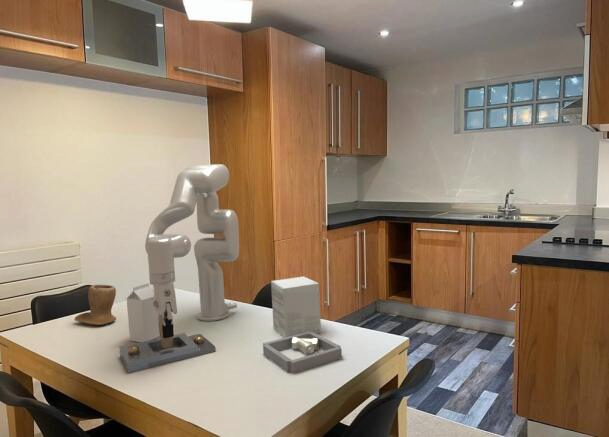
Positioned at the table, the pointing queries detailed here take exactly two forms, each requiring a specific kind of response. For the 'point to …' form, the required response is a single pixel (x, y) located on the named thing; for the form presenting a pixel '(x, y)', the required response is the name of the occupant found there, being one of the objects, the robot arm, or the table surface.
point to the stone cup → (99, 305)
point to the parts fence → (296, 365)
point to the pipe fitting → (305, 344)
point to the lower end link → (203, 348)
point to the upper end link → (142, 353)
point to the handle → (165, 341)
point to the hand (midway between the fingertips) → (166, 334)
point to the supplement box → (295, 306)
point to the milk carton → (142, 314)
